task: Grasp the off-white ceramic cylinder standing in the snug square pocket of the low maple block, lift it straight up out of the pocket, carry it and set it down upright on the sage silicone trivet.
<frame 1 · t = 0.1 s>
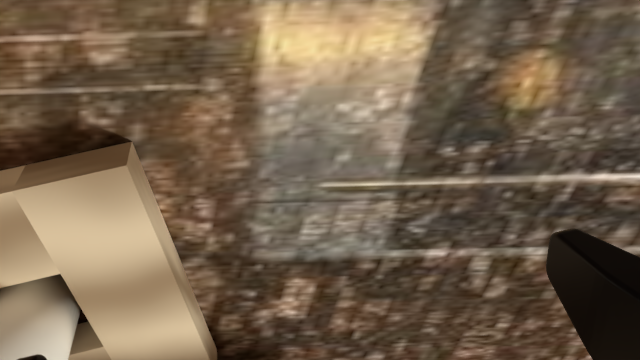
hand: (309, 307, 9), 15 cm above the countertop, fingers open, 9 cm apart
pocket block: (39, 294, 26), on the countertop
ceramic cylinder: (23, 341, 24), in the pocket block
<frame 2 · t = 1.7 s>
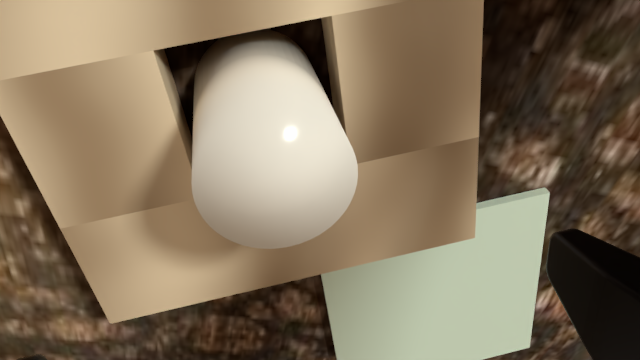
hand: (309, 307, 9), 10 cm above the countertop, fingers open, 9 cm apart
pocket block: (255, 87, 18), on the countertop
ceramic cylinder: (264, 127, 15), in the pocket block
trivet: (433, 297, 25), on the countertop
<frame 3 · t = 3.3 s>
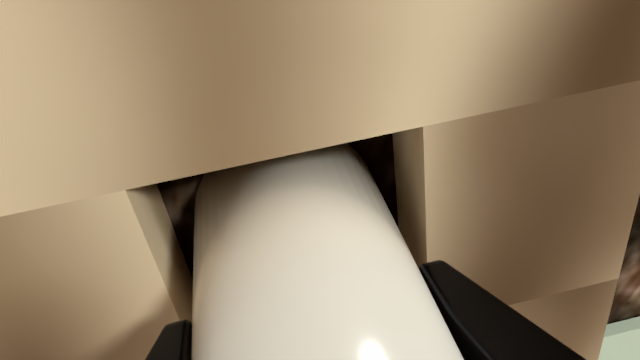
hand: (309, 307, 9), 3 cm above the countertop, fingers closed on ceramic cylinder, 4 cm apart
pocket block: (287, 207, 12), on the countertop
ceramic cylinder: (309, 305, 9), in the pocket block, touching gripper
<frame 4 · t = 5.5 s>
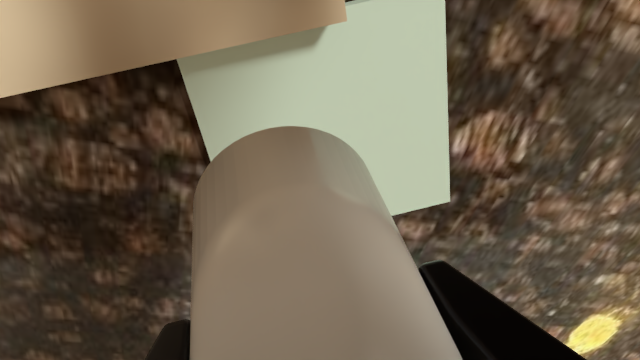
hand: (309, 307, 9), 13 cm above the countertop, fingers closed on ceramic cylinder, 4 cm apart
ceramic cylinder: (307, 305, 9), point 13 cm above the countertop, touching gripper
trivet: (329, 129, 22), on the countertop
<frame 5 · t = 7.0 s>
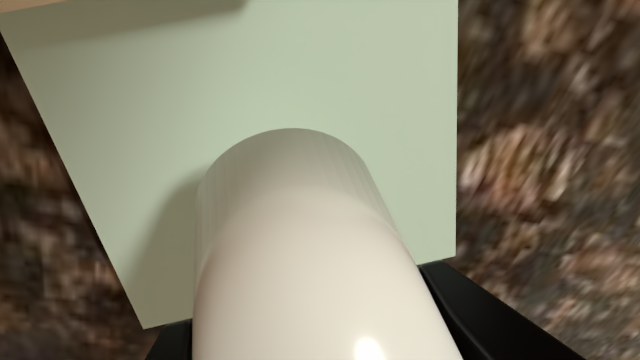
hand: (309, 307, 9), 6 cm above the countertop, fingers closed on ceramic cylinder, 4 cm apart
ceramic cylinder: (309, 307, 9), point 6 cm above the countertop, touching gripper
trivet: (272, 149, 14), on the countertop
when the fingers open (4 cm above the countertop, at t = 8.0 s): ceramic cylinder drops 1 cm, resting on trivet.
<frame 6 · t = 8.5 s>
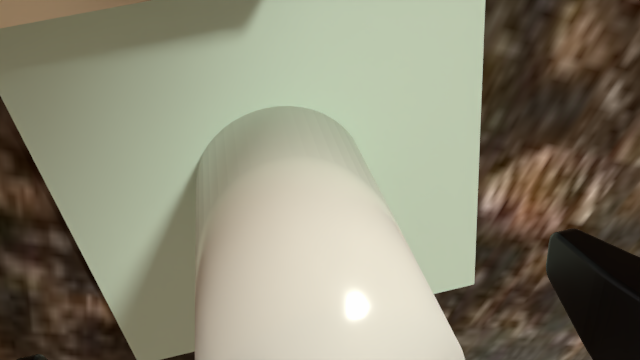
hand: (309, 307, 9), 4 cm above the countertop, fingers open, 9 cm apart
ceramic cylinder: (302, 266, 10), on the trivet
trivet: (278, 174, 13), on the countertop
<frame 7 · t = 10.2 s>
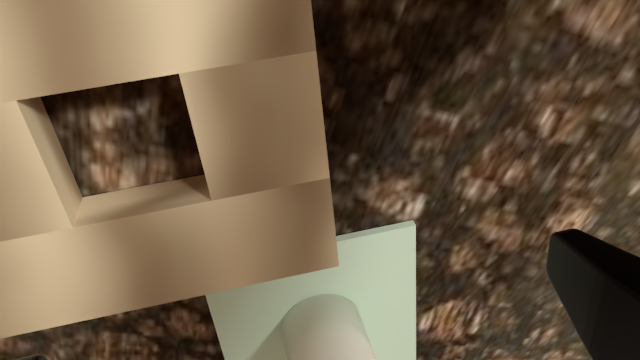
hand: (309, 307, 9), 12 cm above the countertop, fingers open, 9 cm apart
pocket block: (128, 129, 20), on the countertop
trivet: (318, 318, 27), on the countertop
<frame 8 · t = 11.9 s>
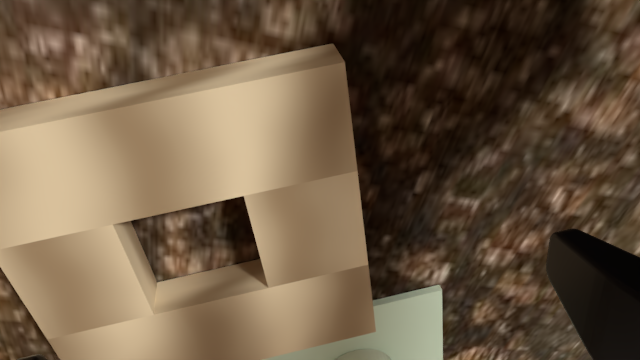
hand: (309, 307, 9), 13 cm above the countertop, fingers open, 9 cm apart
pocket block: (196, 228, 23), on the countertop
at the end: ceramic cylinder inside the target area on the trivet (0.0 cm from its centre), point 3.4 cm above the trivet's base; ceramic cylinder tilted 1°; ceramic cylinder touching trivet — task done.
